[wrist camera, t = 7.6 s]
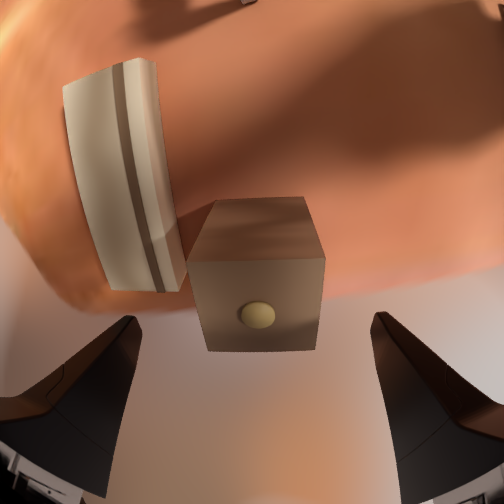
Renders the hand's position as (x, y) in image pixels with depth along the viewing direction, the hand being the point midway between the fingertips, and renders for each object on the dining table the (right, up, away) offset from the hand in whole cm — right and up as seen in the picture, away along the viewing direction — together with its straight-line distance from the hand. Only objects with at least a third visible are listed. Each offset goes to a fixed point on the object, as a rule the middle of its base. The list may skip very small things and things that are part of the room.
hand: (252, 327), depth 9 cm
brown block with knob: (+1, +3, +5) cm, 7 cm away
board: (-6, +7, +4) cm, 10 cm away
